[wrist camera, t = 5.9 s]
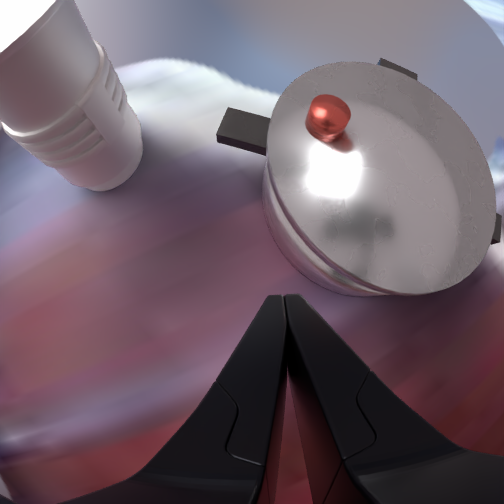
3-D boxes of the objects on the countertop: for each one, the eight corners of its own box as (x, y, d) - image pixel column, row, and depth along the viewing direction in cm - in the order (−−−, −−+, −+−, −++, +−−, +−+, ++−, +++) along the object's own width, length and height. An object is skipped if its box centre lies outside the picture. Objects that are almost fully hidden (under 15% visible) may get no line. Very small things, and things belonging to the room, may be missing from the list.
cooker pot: (450, 326, 21) (492, 328, 16) (190, 247, 21) (176, 230, 16) (469, 147, 23) (501, 123, 18) (262, 64, 23) (266, 21, 19)
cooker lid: (478, 323, 14) (507, 319, 12) (227, 244, 14) (227, 227, 12) (479, 126, 18) (497, 109, 16) (298, 47, 18) (305, 20, 16)
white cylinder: (119, 212, 21) (-20, 92, 6) (54, 179, 21) (-73, 77, 7) (167, 131, 22) (105, -37, 7) (99, 107, 22) (17, -26, 8)
